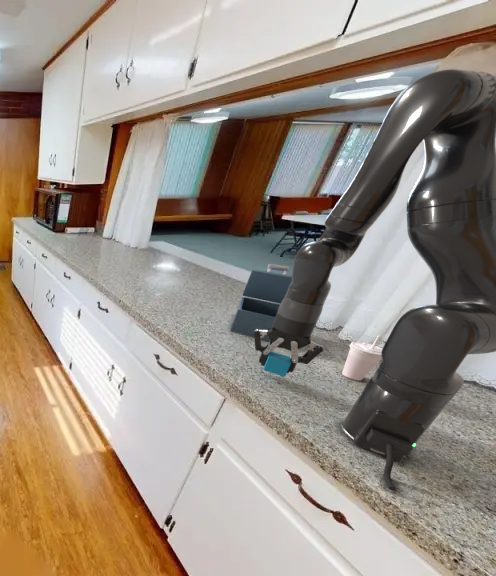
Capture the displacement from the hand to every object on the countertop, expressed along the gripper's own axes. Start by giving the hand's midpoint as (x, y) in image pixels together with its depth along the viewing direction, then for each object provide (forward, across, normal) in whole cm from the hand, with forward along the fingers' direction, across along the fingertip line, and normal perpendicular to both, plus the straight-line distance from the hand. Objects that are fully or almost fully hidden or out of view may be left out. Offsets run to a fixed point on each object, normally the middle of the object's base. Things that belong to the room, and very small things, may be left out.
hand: (274, 367), depth 83 cm
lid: (-13, -4, +32) cm, 35 cm away
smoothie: (+3, +17, +14) cm, 23 cm away
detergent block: (0, 0, -1) cm, 1 cm away
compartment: (+2, -5, +30) cm, 30 cm away
